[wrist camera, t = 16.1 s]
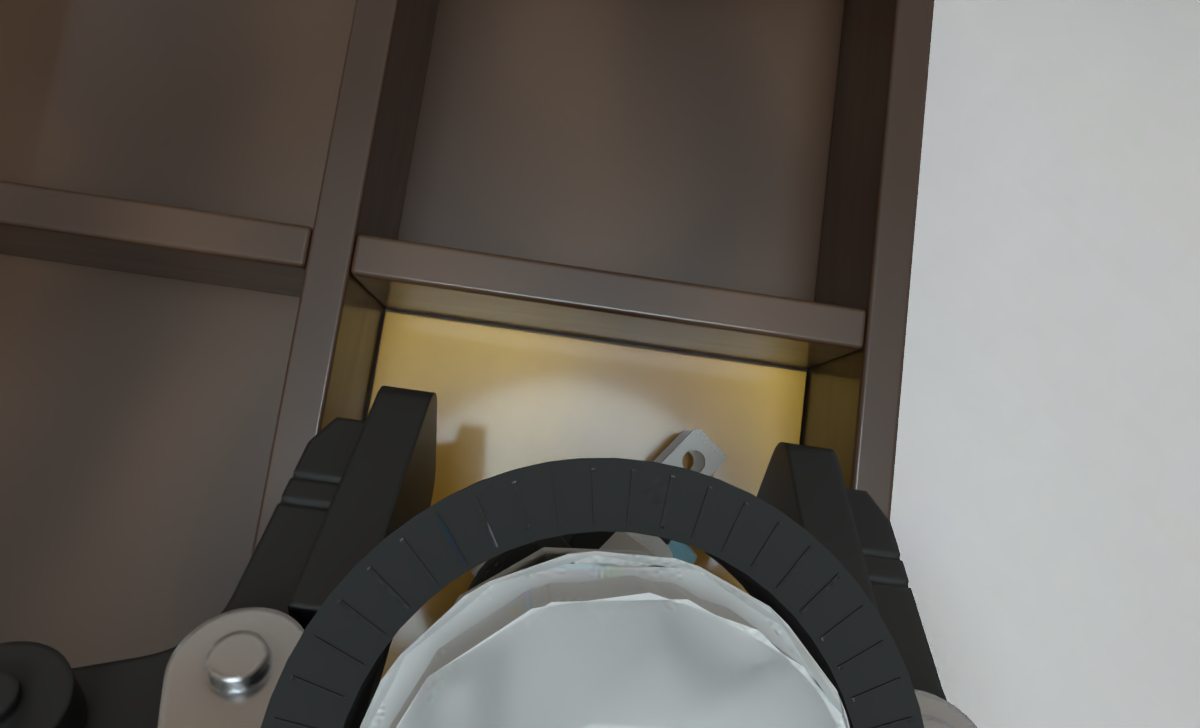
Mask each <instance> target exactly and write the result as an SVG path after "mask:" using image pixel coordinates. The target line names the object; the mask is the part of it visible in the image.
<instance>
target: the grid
mask: <svg viewBox="0 0 1200 728" xmlns="http://www.w3.org/2000/svg"><path fill="white" fill-rule="evenodd" d="M933 7H934V0H0V643H6V642H13V641H29V642H38V643H41V644H45V645H48V646H50V647H52V648H54V649H56V650H58V651H59V652H60V653H61V654H62V655H63V656H64V657H65V658H66V659H67V661H68V662H69V664H70V666H71V668H77V667H83V666H89V665H95V664H101V663H107V662H113V661H118V660H124V659H130V658H136V657H142V656H147V655H151V654H155V653H159V652H162V651H165V650H168V649H171V648H173V647H175V646H177V645H179V643H180V642H181V641H182V640H183V639H184V638H185V637H186V636H187V635H188V634H189V633H190V632H191V631H192V630H194V629H195V628H196V627H197V626H199V625H201V624H202V623H204V622H205V621H207V620H209V619H211V618H213V617H215V616H217V615H219V614H221V612H222V611H223V610H224V609H225V607H226V606H227V604H228V602H229V601H230V599H231V597H232V595H233V593H234V591H235V589H236V587H237V585H238V583H239V581H240V579H241V577H242V575H243V573H244V571H245V569H246V567H247V565H248V563H249V561H250V559H251V557H252V555H253V553H254V551H255V549H256V547H257V545H258V543H259V541H260V539H261V537H262V535H263V533H264V531H265V528H266V526H267V524H268V522H269V520H270V518H271V516H272V514H273V512H274V510H275V508H276V506H277V504H278V503H280V502H281V496H282V494H283V492H284V490H285V488H286V486H287V484H288V482H289V480H290V478H292V477H293V473H294V470H295V468H296V466H297V464H298V462H299V460H300V458H301V456H302V454H303V451H304V449H305V447H306V445H307V443H308V441H310V440H311V439H312V438H313V437H314V436H315V435H317V434H318V433H319V432H320V431H321V430H322V429H324V428H325V427H326V426H327V425H328V424H330V423H331V422H332V421H333V420H334V419H335V418H337V417H339V418H347V419H354V420H361V421H366V418H367V416H368V414H369V411H370V409H371V407H372V404H373V402H374V400H375V397H376V395H377V393H378V391H379V389H380V387H382V386H391V387H398V388H405V389H412V390H419V391H427V392H434V393H436V395H437V437H436V473H435V483H434V490H433V496H432V501H431V506H432V505H434V504H436V503H437V502H439V501H441V500H442V499H444V498H446V497H447V496H449V495H451V494H453V493H455V492H458V491H460V490H462V489H464V488H466V487H468V486H470V485H473V484H475V483H477V482H479V481H481V480H484V479H487V478H490V477H493V476H496V475H499V474H502V473H505V472H508V471H511V470H514V469H518V468H522V467H527V466H531V465H535V464H540V463H544V462H550V461H559V460H568V459H576V458H623V459H633V460H643V461H654V460H655V459H656V458H657V457H658V456H659V455H660V454H661V452H662V451H663V450H664V449H665V448H666V447H667V446H668V445H669V444H670V443H671V442H672V441H673V440H674V439H675V438H676V437H677V436H678V435H679V434H680V433H681V432H682V431H692V430H693V429H701V430H702V431H703V432H704V433H705V434H706V435H707V436H708V437H709V438H710V439H711V440H712V441H713V442H714V443H715V444H716V445H717V446H718V447H719V448H720V449H721V450H722V451H723V452H724V453H725V462H724V463H723V464H722V465H721V466H720V467H719V468H718V469H717V470H716V471H715V472H714V473H713V474H712V475H711V477H714V478H717V479H720V480H722V481H724V482H727V483H729V484H731V485H733V486H736V487H738V488H740V489H742V490H744V491H747V492H749V493H751V494H753V495H754V496H757V494H758V491H759V488H760V486H761V483H762V480H763V478H764V475H765V473H766V470H767V467H768V465H769V462H770V459H771V457H772V454H773V452H774V449H775V447H776V446H777V445H778V443H780V442H785V443H792V444H799V445H806V446H813V447H821V448H828V449H832V450H834V451H835V453H836V454H837V457H838V460H839V464H840V468H841V471H842V475H843V479H844V483H845V486H846V488H848V489H856V490H863V491H867V492H868V493H869V495H870V496H871V497H872V499H873V500H874V501H875V503H876V504H877V505H878V506H879V508H880V509H881V510H882V512H883V513H884V514H885V516H886V517H887V518H888V519H889V521H890V511H891V500H892V488H893V476H894V464H895V453H896V441H897V429H898V417H899V406H900V394H901V382H902V371H903V359H904V347H905V335H906V324H907V312H908V300H909V289H910V277H911V265H912V253H913V242H914V230H915V218H916V206H917V195H918V183H919V171H920V160H921V148H922V136H923V124H924V113H925V101H926V89H927V78H928V66H929V54H930V42H931V31H932V19H933ZM682 464H683V467H684V468H686V469H690V468H691V466H692V465H693V459H692V456H691V454H690V453H689V452H687V453H685V455H684V456H683V459H682ZM431 506H430V507H431ZM687 546H688V547H689V548H690V549H691V550H692V551H693V552H694V553H695V554H696V555H697V559H696V561H695V563H694V565H697V566H699V567H701V568H703V569H705V570H707V571H708V572H710V573H712V574H714V575H715V576H717V577H719V578H721V579H722V580H724V581H726V582H728V583H729V584H731V585H733V586H735V587H736V588H738V589H740V590H742V591H743V592H745V593H747V594H748V592H747V591H746V590H745V589H744V587H743V586H742V585H741V584H740V583H739V582H738V581H737V580H736V579H735V578H734V577H733V576H732V575H731V574H730V573H729V572H728V571H727V570H726V569H725V568H724V567H723V566H722V565H720V564H719V563H718V562H717V561H715V560H714V559H713V558H711V557H710V556H709V555H707V554H706V553H705V552H704V551H702V550H699V549H697V548H695V547H693V546H689V545H687ZM472 571H473V569H471V570H469V571H468V572H466V573H465V574H463V575H462V576H460V577H458V578H457V579H455V580H454V581H452V582H451V583H449V584H448V585H447V586H446V587H444V588H443V589H442V590H441V591H439V592H438V593H437V594H436V595H434V596H433V597H432V598H431V599H430V600H428V601H427V602H426V603H425V604H424V605H423V606H422V607H421V608H420V609H419V610H418V611H417V612H416V613H415V614H414V615H413V616H412V617H411V618H410V619H409V620H408V621H407V622H406V623H405V624H404V625H403V626H402V627H401V628H400V629H399V631H398V632H397V633H396V635H395V636H394V637H393V639H392V642H391V645H390V649H389V652H388V656H387V659H386V663H385V666H384V670H383V673H382V676H381V679H382V678H383V677H384V675H385V674H386V673H387V672H388V670H389V669H390V668H391V666H392V665H393V664H394V662H395V661H396V660H397V658H398V657H399V656H400V655H401V654H402V653H403V652H404V651H405V650H406V649H407V648H408V647H409V646H410V645H411V644H412V643H414V642H415V641H416V640H417V639H418V638H419V637H420V636H421V635H422V634H423V633H424V632H425V631H427V630H428V629H429V628H430V627H431V626H432V625H433V624H434V623H435V622H436V621H437V620H438V619H439V618H440V617H441V616H442V615H443V614H444V613H445V612H446V611H447V610H448V609H450V608H451V607H453V606H454V604H455V602H456V600H457V598H458V597H459V596H460V595H462V594H463V593H465V592H467V590H468V588H469V586H470V584H471V582H472V581H473V579H474V578H475V576H474V575H473V574H472ZM380 681H381V680H380ZM379 684H380V683H379Z"/></svg>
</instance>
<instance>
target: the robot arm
mask: <svg viewBox="0 0 1200 728" xmlns="http://www.w3.org/2000/svg"><path fill="white" fill-rule="evenodd" d="M436 437H437V395H436V393H434V392H427V391H419V390H412V389H405V388H398V387H391V386H382V387H380V389H379V391H378V393H377V395H376V397H375V400H374V402H373V404H372V407H371V409H370V411H369V414H368V416H367V418H366V421H361V420H354V419H347V418H339V417H337V418H335V419H334V420H333V421H332V422H331V423H330V424H328V425H327V426H326V427H325V428H324V429H322V430H321V431H320V432H319V433H318V434H317V435H315V436H314V437H313V438H312V439H311V440H310V441H308V443H307V445H306V447H305V449H304V451H303V454H302V456H301V458H300V460H299V462H298V464H297V466H296V468H295V470H294V473H293V477H292V478H290V480H289V482H288V484H287V486H286V488H285V490H284V492H283V494H282V496H281V502H280V503H278V504H277V506H276V508H275V510H274V512H273V514H272V516H271V518H270V520H269V522H268V524H267V526H266V528H265V531H264V533H263V535H262V537H261V539H260V541H259V543H258V545H257V547H256V549H255V551H254V553H253V555H252V557H251V559H250V561H249V563H248V565H247V567H246V569H245V571H244V573H243V575H242V577H241V579H240V581H239V583H238V585H237V587H236V589H235V591H234V593H233V595H232V597H231V599H230V601H229V602H228V604H227V606H226V607H225V609H224V610H223V611H222V612H221V614H219V615H217V616H215V617H213V618H211V619H209V620H207V621H205V622H204V623H202V624H201V625H199V626H197V627H196V628H195V629H194V630H192V631H191V632H190V633H189V634H188V635H187V636H186V637H185V638H184V639H183V640H182V641H181V642H180V643H179V645H177V646H175V647H173V648H171V649H168V650H165V651H162V652H159V653H155V654H151V655H147V656H142V657H136V658H130V659H124V660H118V661H113V662H107V663H101V664H95V665H89V666H83V667H77V668H71V666H70V664H69V662H68V661H67V659H66V658H65V657H64V656H63V655H62V654H61V653H60V652H59V651H58V650H56V649H54V648H52V647H50V646H48V645H45V644H41V643H38V642H29V641H13V642H6V643H0V728H261V725H262V722H263V719H264V716H265V713H266V710H267V707H268V704H269V701H270V698H271V695H272V693H273V691H274V689H275V686H276V684H277V682H278V680H279V677H280V675H281V673H282V671H283V668H284V666H285V664H286V662H287V660H288V658H289V656H290V655H291V653H292V651H293V649H294V648H295V646H296V644H297V642H298V641H299V639H300V637H301V635H302V634H303V632H304V630H305V629H306V627H307V625H308V624H309V623H310V621H311V620H312V618H313V617H314V616H315V614H316V613H317V611H318V610H319V609H320V607H321V606H322V604H323V603H324V602H325V600H326V599H327V598H328V596H329V595H330V594H331V592H332V591H333V590H334V589H335V588H336V587H337V586H338V584H339V583H340V582H341V581H342V580H343V579H344V578H345V577H346V575H347V574H348V573H349V572H350V571H351V570H352V569H353V568H354V566H355V565H356V564H357V563H359V562H360V561H361V560H362V559H363V558H364V557H365V556H366V555H367V554H368V553H369V552H370V551H372V550H373V549H374V548H375V547H376V546H377V545H378V544H379V543H380V542H381V541H382V540H384V539H385V538H386V537H387V536H389V535H390V534H391V533H393V532H394V531H396V530H397V529H398V528H400V527H401V526H402V525H404V524H405V523H406V522H408V521H409V520H410V519H412V518H413V517H414V516H416V515H417V514H419V513H421V512H422V511H424V510H426V509H427V508H429V507H430V506H431V501H432V496H433V490H434V483H435V473H436ZM756 497H758V498H759V499H761V500H763V501H765V502H766V503H768V504H770V505H771V506H773V507H775V508H776V509H778V510H780V511H781V512H783V513H784V514H785V515H787V516H788V517H789V518H791V519H792V520H793V521H795V522H796V523H797V524H799V525H800V526H802V527H803V528H804V529H806V530H807V531H808V532H809V533H810V534H811V535H813V536H814V537H815V538H816V539H817V540H818V541H819V542H820V543H821V544H822V545H823V546H824V547H826V548H827V549H828V550H829V551H830V552H831V553H832V554H833V555H834V556H835V557H836V558H837V559H838V561H839V562H840V563H841V564H842V565H843V566H844V567H845V568H846V570H847V571H848V572H849V573H850V574H851V575H852V576H853V578H854V579H855V580H856V581H857V582H858V584H859V585H860V587H861V588H862V589H863V591H864V592H865V594H866V595H867V596H868V598H869V599H870V601H871V602H872V603H873V605H874V606H875V608H876V609H877V611H878V613H879V614H880V616H881V618H882V620H883V621H884V623H885V625H886V627H887V628H888V630H889V632H890V634H891V635H892V637H893V639H894V641H895V643H896V646H897V648H898V650H899V652H900V655H901V657H902V659H903V661H904V664H905V666H906V668H907V670H908V673H909V676H910V679H911V682H912V685H913V688H914V691H915V694H916V697H917V700H918V703H919V706H920V710H921V715H922V719H923V724H924V728H977V727H976V725H975V724H974V723H973V722H972V721H971V720H970V719H969V718H968V717H967V716H966V715H965V714H964V713H963V712H961V711H960V710H959V709H958V708H957V707H955V706H954V705H952V704H951V703H949V702H947V700H946V697H945V695H944V692H943V690H942V687H941V683H940V680H939V677H938V674H937V671H936V667H935V664H934V661H933V658H932V655H931V651H930V648H929V645H928V642H927V639H926V635H925V632H924V629H923V626H922V623H921V619H920V616H919V613H918V610H917V606H916V603H915V600H914V597H913V594H912V590H911V588H908V582H909V581H908V578H907V574H906V571H905V568H904V565H903V562H902V561H900V559H899V557H900V552H899V549H898V545H897V542H896V539H895V536H894V533H893V529H892V526H891V523H890V521H889V519H888V518H887V517H886V516H885V514H884V513H883V512H882V510H881V509H880V508H879V506H878V505H877V504H876V503H875V501H874V500H873V499H872V497H871V496H870V495H869V493H868V492H867V491H863V490H856V489H848V488H846V486H845V483H844V479H843V475H842V471H841V468H840V464H839V460H838V457H837V454H836V453H835V451H834V450H832V449H828V448H821V447H813V446H806V445H799V444H792V443H785V442H780V443H778V445H777V446H776V447H775V449H774V452H773V454H772V457H771V459H770V462H769V465H768V467H767V470H766V473H765V475H764V478H763V480H762V483H761V486H760V488H759V491H758V494H757V496H756ZM391 642H392V640H391V641H390V643H389V646H388V648H387V650H386V652H385V654H384V657H383V659H382V661H381V663H380V665H379V669H378V672H377V675H376V678H375V681H374V684H373V687H372V690H371V694H370V699H369V704H368V708H369V706H370V704H371V701H372V699H373V697H374V695H375V692H376V690H377V688H378V686H379V683H380V680H381V676H382V673H383V670H384V666H385V663H386V659H387V656H388V652H389V649H390V645H391ZM367 710H368V709H367Z"/></svg>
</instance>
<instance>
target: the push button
mask: <svg viewBox="0 0 1200 728" xmlns="http://www.w3.org/2000/svg"><path fill="white" fill-rule="evenodd" d="M687 452H689V453H690V454H691V456H692V459H693V465H692V466H691V468H690V469H686V468H684V467H683V464H682V459H683V456H684V455H685V453H687ZM724 462H725V453H724V452H723V451H722V450H721V449H720V448H719V447H718V446H717V445H716V444H715V443H714V442H713V441H712V440H711V439H710V438H709V437H708V436H707V435H706V434H705V433H704V432H703V431H702V430H701V429H693V430H692V431H682V432H681V433H680V434H679V435H678V436H677V437H676V438H675V439H674V440H673V441H672V442H671V443H670V444H669V445H668V446H667V447H666V448H665V449H664V450H663V451H662V452H661V454H660V455H659V456H658V457H657V458H656V459H655V460H654V461H643V460H633V459H623V458H576V459H568V460H559V461H550V462H544V463H540V464H535V465H531V466H527V467H522V468H518V469H514V470H511V471H508V472H505V473H502V474H499V475H496V476H493V477H490V478H487V479H484V480H481V481H479V482H477V483H475V484H473V485H470V486H468V487H466V488H464V489H462V490H460V491H458V492H455V493H453V494H451V495H449V496H447V497H446V498H444V499H442V500H441V501H439V502H437V503H436V504H434V505H432V506H431V507H429V508H427V509H426V510H424V511H422V512H421V513H419V514H417V515H416V516H414V517H413V518H412V519H410V520H409V521H408V522H406V523H405V524H404V525H402V526H401V527H400V528H398V529H397V530H396V531H394V532H393V533H391V534H390V535H389V536H387V537H386V538H385V539H384V540H382V541H381V542H380V543H379V544H378V545H377V546H376V547H375V548H374V549H373V550H372V551H370V552H369V553H368V554H367V555H366V556H365V557H364V558H363V559H362V560H361V561H360V562H359V563H357V564H356V565H355V566H354V568H353V569H352V570H351V571H350V572H349V573H348V574H347V575H346V577H345V578H344V579H343V580H342V581H341V582H340V583H339V584H338V586H337V587H336V588H335V589H334V590H333V591H332V592H331V594H330V595H329V596H328V598H327V599H326V600H325V602H324V603H323V604H322V606H321V607H320V609H319V610H318V611H317V613H316V614H315V616H314V617H313V618H312V620H311V621H310V623H309V624H308V625H307V627H306V629H305V630H304V632H303V634H302V635H301V637H300V639H299V641H298V642H297V644H296V646H295V648H294V649H293V651H292V653H291V655H290V656H289V658H288V660H287V662H286V664H285V666H284V668H283V671H282V673H281V675H280V677H279V680H278V682H277V684H276V686H275V689H274V691H273V693H272V695H271V698H270V701H269V704H268V707H267V710H266V713H265V716H264V719H263V722H262V725H261V728H924V724H923V719H922V715H921V710H920V706H919V703H918V700H917V697H916V694H915V691H914V688H913V685H912V682H911V679H910V676H909V673H908V670H907V668H906V666H905V664H904V661H903V659H902V657H901V655H900V652H899V650H898V648H897V646H896V643H895V641H894V639H893V637H892V635H891V634H890V632H889V630H888V628H887V627H886V625H885V623H884V621H883V620H882V618H881V616H880V614H879V613H878V611H877V609H876V608H875V606H874V605H873V603H872V602H871V601H870V599H869V598H868V596H867V595H866V594H865V592H864V591H863V589H862V588H861V587H860V585H859V584H858V582H857V581H856V580H855V579H854V578H853V576H852V575H851V574H850V573H849V572H848V571H847V570H846V568H845V567H844V566H843V565H842V564H841V563H840V562H839V561H838V559H837V558H836V557H835V556H834V555H833V554H832V553H831V552H830V551H829V550H828V549H827V548H826V547H824V546H823V545H822V544H821V543H820V542H819V541H818V540H817V539H816V538H815V537H814V536H813V535H811V534H810V533H809V532H808V531H807V530H806V529H804V528H803V527H802V526H800V525H799V524H797V523H796V522H795V521H793V520H792V519H791V518H789V517H788V516H787V515H785V514H784V513H783V512H781V511H780V510H778V509H776V508H775V507H773V506H771V505H770V504H768V503H766V502H765V501H763V500H761V499H759V498H758V497H756V496H754V495H753V494H751V493H749V492H747V491H744V490H742V489H740V488H738V487H736V486H733V485H731V484H729V483H727V482H724V481H722V480H720V479H717V478H714V477H711V475H712V474H713V473H714V472H715V471H716V470H717V469H718V468H719V467H720V466H721V465H722V464H723V463H724ZM687 545H689V546H693V547H695V548H697V549H699V550H702V551H704V552H705V553H706V554H707V555H709V556H710V557H711V558H713V559H714V560H715V561H717V562H718V563H719V564H720V565H722V566H723V567H724V568H725V569H726V570H727V571H728V572H729V573H730V574H731V575H732V576H733V577H734V578H735V579H736V580H737V581H738V582H739V583H740V584H741V585H742V586H743V587H744V589H745V590H746V591H747V592H748V594H747V593H745V592H743V591H742V590H740V589H738V588H736V587H735V586H733V585H731V584H729V583H728V582H726V581H724V580H722V579H721V578H719V577H717V576H715V575H714V574H712V573H710V572H708V571H707V570H705V569H703V568H701V567H699V566H697V565H694V563H695V561H696V559H697V555H696V554H695V553H694V552H693V551H692V550H691V549H690V548H689V547H688V546H687ZM471 569H473V571H472V574H473V575H474V576H475V578H474V579H473V581H472V582H471V584H470V586H469V588H468V590H467V592H465V593H463V594H462V595H460V596H459V597H458V598H457V600H456V602H455V604H454V606H453V607H451V608H450V609H448V610H447V611H446V612H445V613H444V614H443V615H442V616H441V617H440V618H439V619H438V620H437V621H436V622H435V623H434V624H433V625H432V626H431V627H430V628H429V629H428V630H427V631H425V632H424V633H423V634H422V635H421V636H420V637H419V638H418V639H417V640H416V641H415V642H414V643H412V644H411V645H410V646H409V647H408V648H407V649H406V650H405V651H404V652H403V653H402V654H401V655H400V656H399V657H398V658H397V660H396V661H395V662H394V664H393V665H392V666H391V668H390V669H389V670H388V672H387V673H386V674H385V675H384V677H383V678H382V679H381V681H380V684H379V686H378V688H377V690H376V692H375V695H374V697H373V699H372V701H371V704H370V706H369V708H368V704H369V699H370V694H371V690H372V687H373V684H374V681H375V678H376V675H377V672H378V669H379V665H380V663H381V661H382V659H383V657H384V654H385V652H386V650H387V648H388V646H389V643H390V641H391V640H392V639H393V637H394V636H395V635H396V633H397V632H398V631H399V629H400V628H401V627H402V626H403V625H404V624H405V623H406V622H407V621H408V620H409V619H410V618H411V617H412V616H413V615H414V614H415V613H416V612H417V611H418V610H419V609H420V608H421V607H422V606H423V605H424V604H425V603H426V602H427V601H428V600H430V599H431V598H432V597H433V596H434V595H436V594H437V593H438V592H439V591H441V590H442V589H443V588H444V587H446V586H447V585H448V584H449V583H451V582H452V581H454V580H455V579H457V578H458V577H460V576H462V575H463V574H465V573H466V572H468V571H469V570H471ZM367 709H368V710H367Z"/></svg>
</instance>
